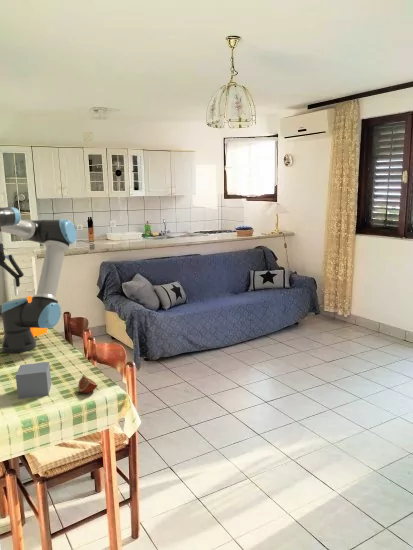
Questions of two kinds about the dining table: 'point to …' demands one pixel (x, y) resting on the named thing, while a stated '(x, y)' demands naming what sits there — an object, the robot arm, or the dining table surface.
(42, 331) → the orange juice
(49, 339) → the dining table surface
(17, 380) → the slate gray cube
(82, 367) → the dining table surface
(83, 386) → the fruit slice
